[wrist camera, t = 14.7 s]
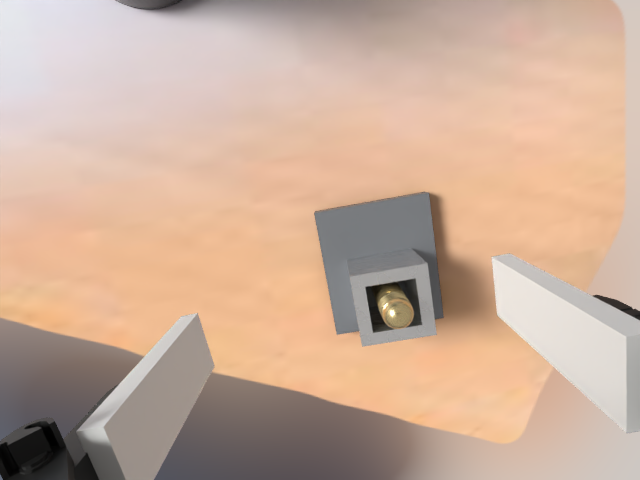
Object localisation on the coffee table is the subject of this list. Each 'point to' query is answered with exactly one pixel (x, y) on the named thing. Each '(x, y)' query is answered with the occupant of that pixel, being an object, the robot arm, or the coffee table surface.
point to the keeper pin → (393, 305)
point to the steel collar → (387, 271)
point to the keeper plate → (374, 246)
